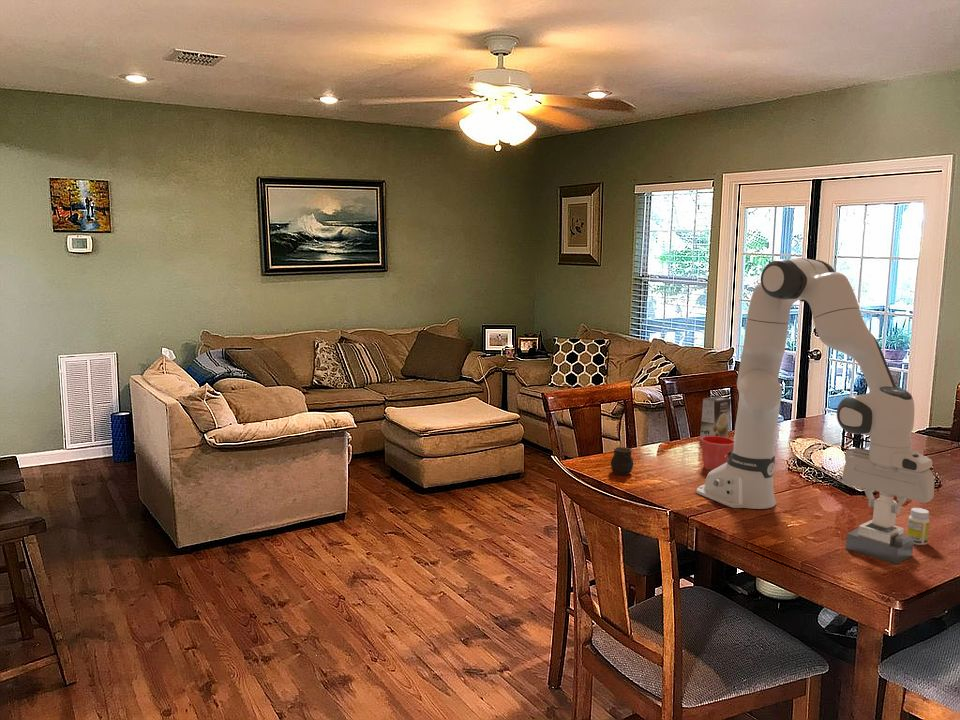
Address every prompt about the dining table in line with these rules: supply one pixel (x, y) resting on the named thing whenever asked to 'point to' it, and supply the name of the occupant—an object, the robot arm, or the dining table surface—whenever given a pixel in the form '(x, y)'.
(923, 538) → the supplement bottle
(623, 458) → the mate gourd
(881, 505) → the white bottle
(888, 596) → the dining table surface
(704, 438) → the flower pot
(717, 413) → the coffee box
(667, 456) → the dining table surface
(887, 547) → the block
